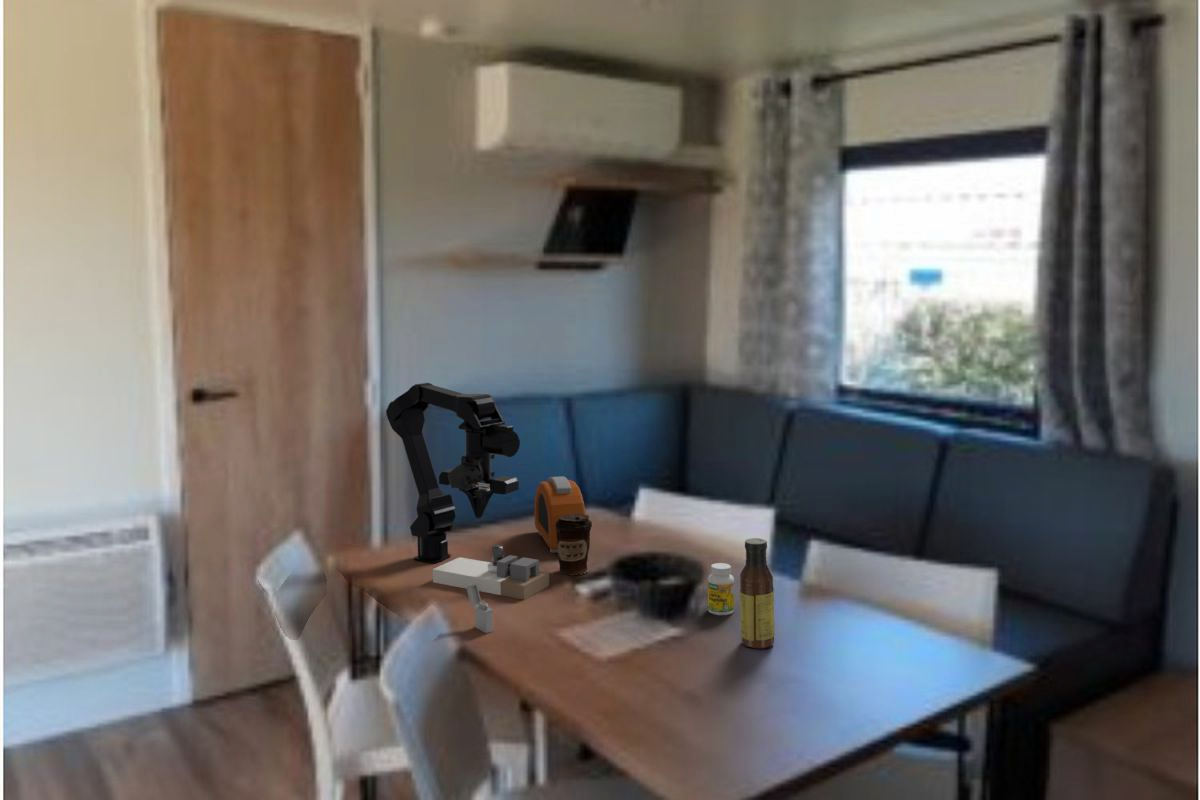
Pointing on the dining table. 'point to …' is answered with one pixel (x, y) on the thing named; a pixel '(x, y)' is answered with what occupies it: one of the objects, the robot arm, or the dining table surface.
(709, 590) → the supplement bottle
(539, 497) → the orange tape measure
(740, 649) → the dining table surface
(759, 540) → the sauce bottle
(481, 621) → the lighter
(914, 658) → the dining table surface
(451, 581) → the door lock board
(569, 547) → the coffee cup
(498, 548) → the bolt
